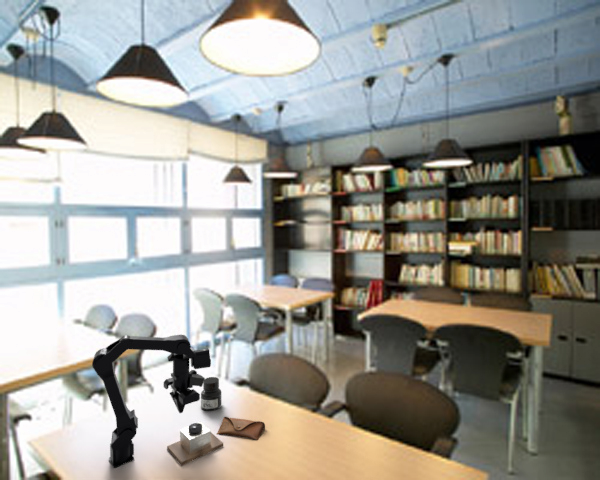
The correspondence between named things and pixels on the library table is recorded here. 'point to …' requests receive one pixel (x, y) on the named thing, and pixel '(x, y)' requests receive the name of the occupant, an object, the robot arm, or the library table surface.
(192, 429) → the plunger
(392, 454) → the library table surface
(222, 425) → the sunglasses case
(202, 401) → the ink bottle
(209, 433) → the block
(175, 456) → the walnut board
